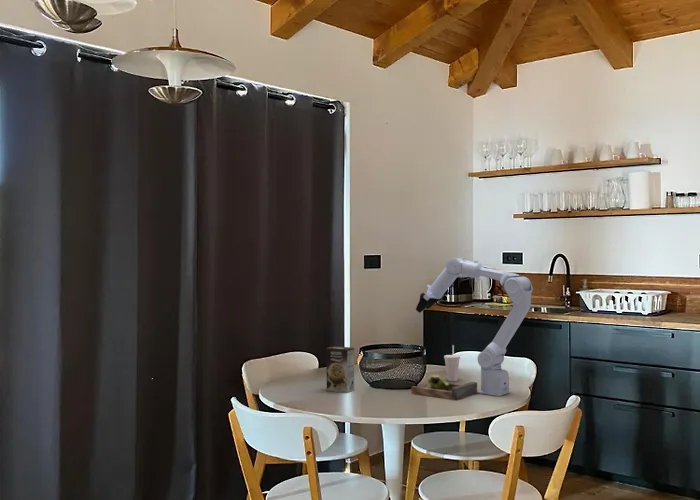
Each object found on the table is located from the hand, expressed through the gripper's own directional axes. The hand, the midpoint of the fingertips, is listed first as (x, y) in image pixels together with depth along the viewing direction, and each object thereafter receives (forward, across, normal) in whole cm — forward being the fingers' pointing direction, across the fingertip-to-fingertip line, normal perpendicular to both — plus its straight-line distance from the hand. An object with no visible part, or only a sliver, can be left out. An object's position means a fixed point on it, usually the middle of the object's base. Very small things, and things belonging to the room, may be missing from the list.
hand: (421, 309), depth 264 cm
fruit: (+14, +15, +27) cm, 33 cm away
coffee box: (+35, +27, +1) cm, 44 cm away
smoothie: (+18, -9, +26) cm, 33 cm away
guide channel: (+11, +15, +29) cm, 34 cm away
